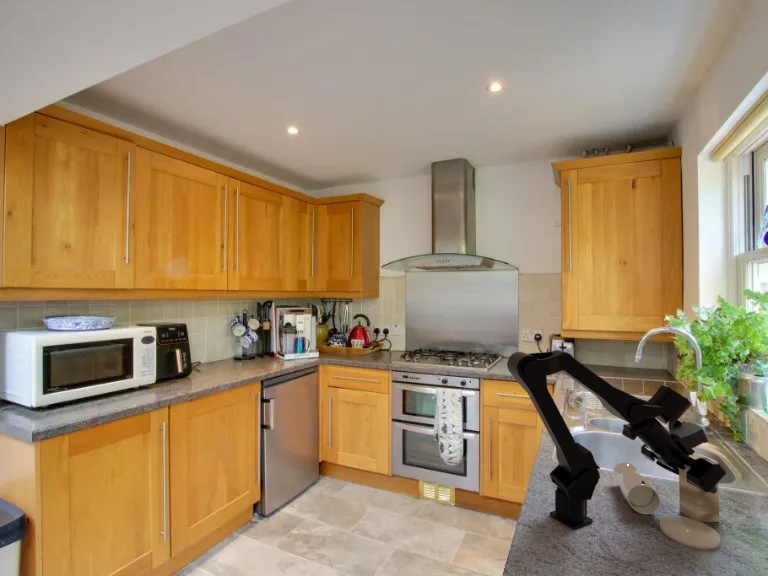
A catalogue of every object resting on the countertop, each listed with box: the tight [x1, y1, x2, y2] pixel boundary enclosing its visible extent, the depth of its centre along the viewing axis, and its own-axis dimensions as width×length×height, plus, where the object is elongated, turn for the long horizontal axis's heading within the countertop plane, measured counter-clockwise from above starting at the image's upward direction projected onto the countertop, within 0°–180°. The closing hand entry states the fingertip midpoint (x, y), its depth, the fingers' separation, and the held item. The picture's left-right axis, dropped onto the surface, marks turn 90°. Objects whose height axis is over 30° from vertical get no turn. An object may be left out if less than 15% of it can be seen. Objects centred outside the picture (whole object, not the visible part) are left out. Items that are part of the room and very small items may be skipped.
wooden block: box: [678, 452, 720, 523], centre depth 92 cm, size 5×5×13 cm
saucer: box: [659, 515, 721, 551], centre depth 84 cm, size 10×10×1 cm
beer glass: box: [612, 462, 662, 516], centre depth 99 cm, size 7×7×15 cm
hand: (704, 486), depth 91 cm, fingers closed on wooden block, 5 cm apart
